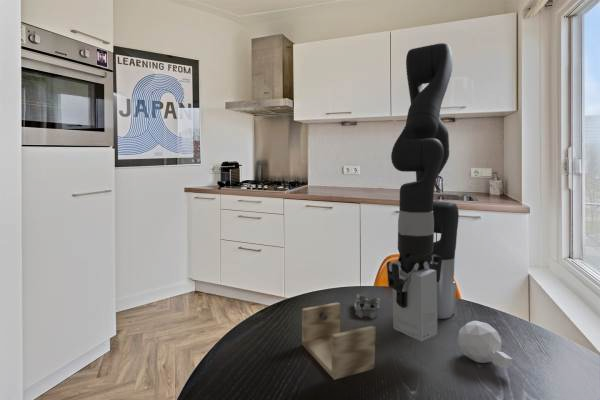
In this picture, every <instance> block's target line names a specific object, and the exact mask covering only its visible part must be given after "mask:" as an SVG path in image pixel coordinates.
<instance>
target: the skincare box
mask: <svg viewBox="0 0 600 400" xmlns="http://www.w3.org/2000/svg"><path fill="white" fill-rule="evenodd" d="M399 269H400V268H399ZM399 272H401V275H402V276H404V277H407V276H408V274H409V273H408V274H407V273H405V272H404V271H402V270H400V271H399ZM403 282H404V280H402V284H403ZM406 292H407V307H406V308H402V307H400V306H399V305H398V304H397V302H396V294H397V291H396V290H395V289H393V288H392V313H393V315H392V316H393V317H392V321H393V323H392V325H393V330H395V331H397V332H399V333H403V334H405V335H407V336H408V337H411V338H413V339H414V340H415V339H416V340H417V341H420V342H424V341H425V340H427V339H430V338H433V337H435V336H437V335H438V319H437V280H436V270H432V269H427V270H424V269H422V270H417V271H416V272H414V273H412V274H411V282H410V283H409V285H408V287H407V290H406Z"/></svg>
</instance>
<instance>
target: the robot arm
mask: <svg viewBox="0 0 600 400" xmlns="http://www.w3.org/2000/svg"><path fill="white" fill-rule="evenodd" d="M405 60H406V61H405V68H406V77H407V78H406V79H407V85H408V86H407V87H408V93H409V99H410V106H409V108H408V112H407V117H406V121H405V126H404V127H403V129H402V131H401V133H400V134H399V136H398V137H397V139H396V141H395V142H394V144H393V147H392V150H391V153H390V154H391V155H390V157H391V164H392V165H393V168H394V169H395V170H397V171H399V172H406V173H407V172H409V173H410V172H413V173H414V172H415V177H416V178H415V179H416V180H415V181H411V182H405V183H403V184H402V185H400V188H399V210H398V219H397V250H398V254H399V256H398V259H397V261H389V260H388V261H387V262H386V273H387V283H388V287H389V288H391V289H392V290H393V289H395V290H396V291H397V294H396V302H397V304H398V305H399V306H400V307H402V308H406V307H407V292H406V290H407V287H408V285H409V283H410V282H411V274H412V273H414V272H416V271H417V270H422V269H424V270H427V269H432V270H436V280H437V320H439V319H440V320H441V319H442V320H445V319H450V318H451V317H452V316H453V315H454V314H456V313H455V312H456V295H457V294H456V293H457V282H456V281H454V280H455V259H456V248H457V237H458V227H459V218H460V217H459V216H460V215H459V207H458V205H457V204H456V203H454V202H452V201H451V202H450V201H439V200H438V201H437V200H434V195H435V194H434V193H435V186H436V181H437V179H438V177H439V176H440V173H441V172H442V171H443V169H444V167H445V165H446V164H447V162H448V160H449V157H450V139H449V137H450V136H449V130H448V128H447V127H446V125H445V123H444V122H443V121H442V120H441V118H440V114H441V107H442V104H443V100H444V98H445V94H446V92H447V90H448V86H449V83H450V80H451V77H452V72H453V53H452V49H451V46H450V45H449V44H448V43H443V42H442V43H441V42H439V43H435V44H429V45H425V46H420V47H414V48H411V49H409V50H408V51H407V53H406V59H405ZM426 84H427V85H426ZM423 85H426V86H425V87H424V88H423ZM434 233H435V234H440V239H438V240H436V241H435V239H434V235H435V234H434ZM399 268H400V269H399ZM400 270H402V271H404V272H405V273H407V274H408V273H409V274H408V276H407V277H404V276H402V275H401V272H399V271H400ZM402 280H404V282H403V284H402Z"/></svg>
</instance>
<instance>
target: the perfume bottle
mask: <svg viewBox="0 0 600 400" xmlns="http://www.w3.org/2000/svg"><path fill="white" fill-rule="evenodd" d="M457 344H458V346H459V348H460V349H461V350H460V351H461V352H462V353H463V355H464V356H465V357H467V358H469V359H470V360H471V361H474V362H476V363H481V364H485V363H486V364H487V363H491V362H493V363H494V364H495V365H497V366H498V367H499V368H500V369H509V368H510V365H511V363H512V361H513V358H512V357H510V356H509V355H508V354H506V353H505V352H503V351H502V339H501V337H500V334H499V333H498V331H497V330H496V329H495V328H494V327H493V326H491V325H490V324H489V323H488V322H487V323H486V322H482V321H479V320H472V321H469V322H467V323H465V325H463V326H462V327H460V329H459V330H458V337H457Z"/></svg>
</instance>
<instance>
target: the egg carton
mask: <svg viewBox="0 0 600 400" xmlns="http://www.w3.org/2000/svg"><path fill="white" fill-rule="evenodd" d="M380 303H381V298H380V297H378V298H376V296H375V297H374V298H373V297H371V296H369V297H368V298H365V295H363V294H360V292H359V293H357V295H356V298H355V302H354V311H355V316H357V317H358V318H364V317H369V318H370V319H374V318H379V308H380V305H381V304H380ZM360 304H361V305H362V307H361V305H360ZM363 304H364V305H363ZM372 306H373V307H372ZM363 316H364V317H363Z"/></svg>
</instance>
